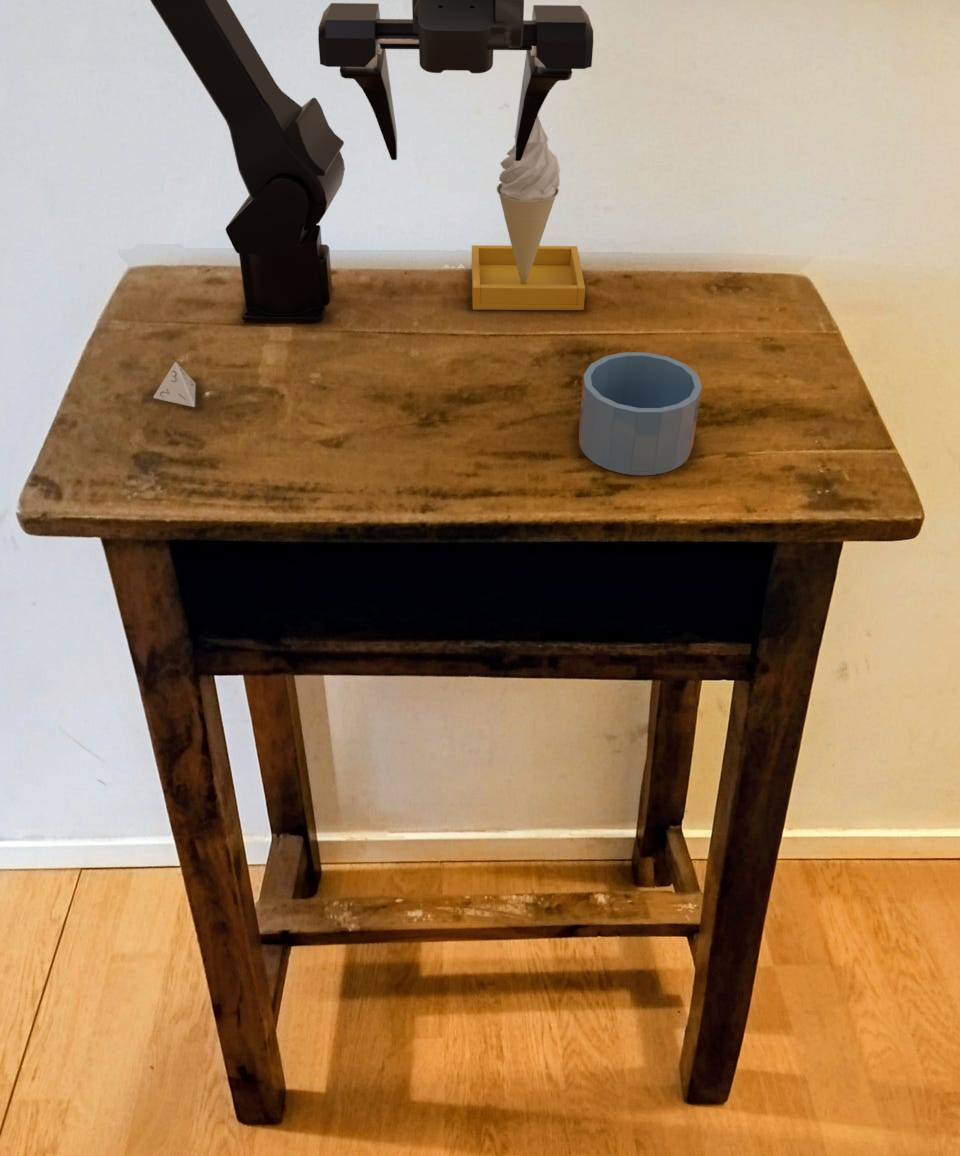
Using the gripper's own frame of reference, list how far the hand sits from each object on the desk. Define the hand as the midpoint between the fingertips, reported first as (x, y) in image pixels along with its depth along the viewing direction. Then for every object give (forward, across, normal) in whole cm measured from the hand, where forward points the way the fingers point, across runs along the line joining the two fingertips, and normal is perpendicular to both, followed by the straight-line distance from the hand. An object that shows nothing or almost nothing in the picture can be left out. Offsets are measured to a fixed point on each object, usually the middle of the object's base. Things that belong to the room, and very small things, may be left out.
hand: (456, 158), depth 86 cm
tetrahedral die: (+13, -20, -12) cm, 27 cm away
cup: (+13, +12, -18) cm, 26 cm away
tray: (+13, +6, +6) cm, 15 cm away
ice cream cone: (+13, +6, +6) cm, 15 cm away
